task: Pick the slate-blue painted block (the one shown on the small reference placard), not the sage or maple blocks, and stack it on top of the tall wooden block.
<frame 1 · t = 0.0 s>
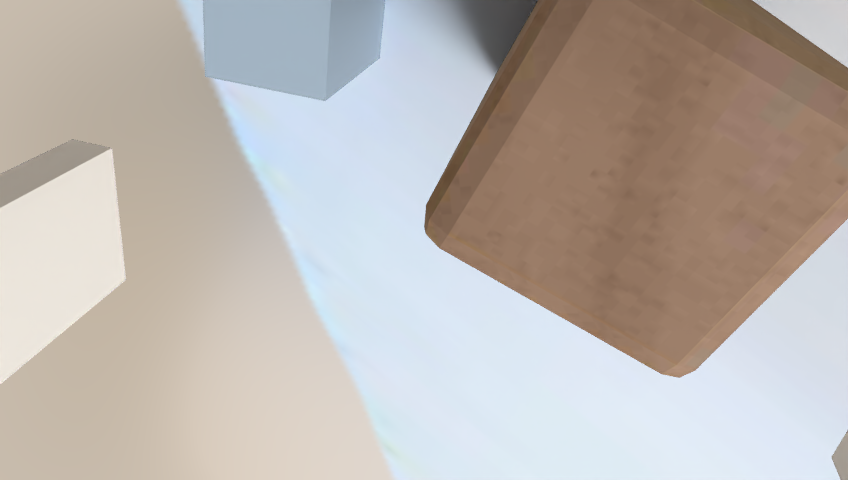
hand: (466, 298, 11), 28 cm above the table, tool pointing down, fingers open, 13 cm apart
wooden block: (619, 46, 36), on the table
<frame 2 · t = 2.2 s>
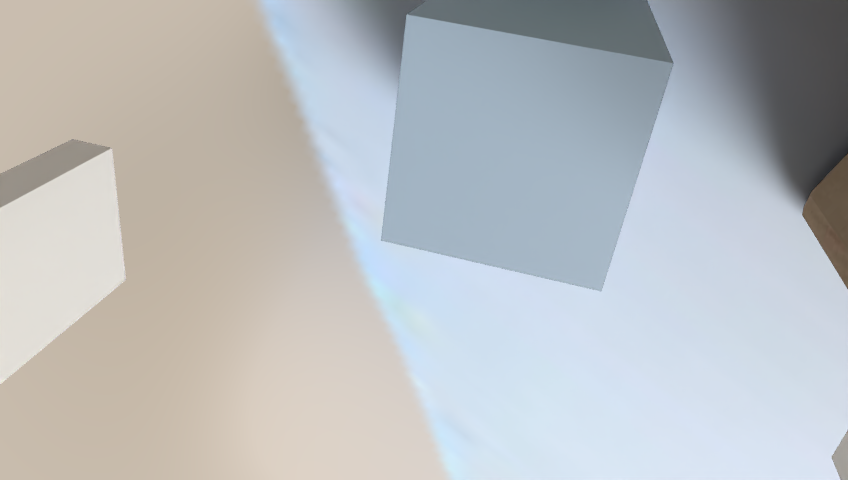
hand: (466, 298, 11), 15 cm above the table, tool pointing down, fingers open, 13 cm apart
slate blue block: (538, 72, 24), on the table
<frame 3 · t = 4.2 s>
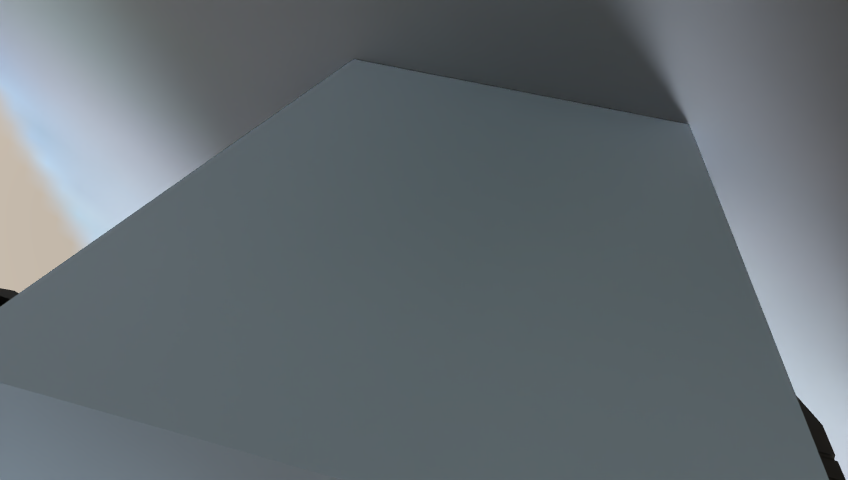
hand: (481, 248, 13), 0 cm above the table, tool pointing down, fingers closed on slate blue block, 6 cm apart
slate blue block: (485, 237, 13), on the table, touching gripper
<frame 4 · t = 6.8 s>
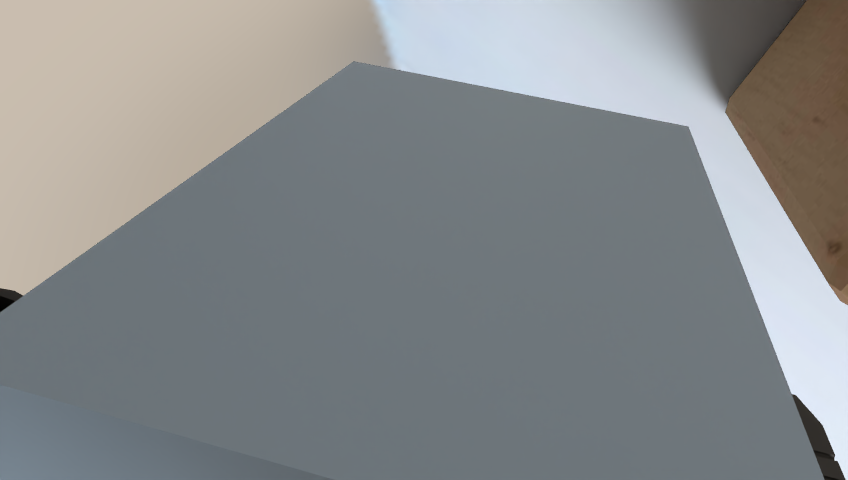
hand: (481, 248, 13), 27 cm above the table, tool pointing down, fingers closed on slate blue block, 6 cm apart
slate blue block: (485, 239, 13), point 27 cm above the table, touching gripper
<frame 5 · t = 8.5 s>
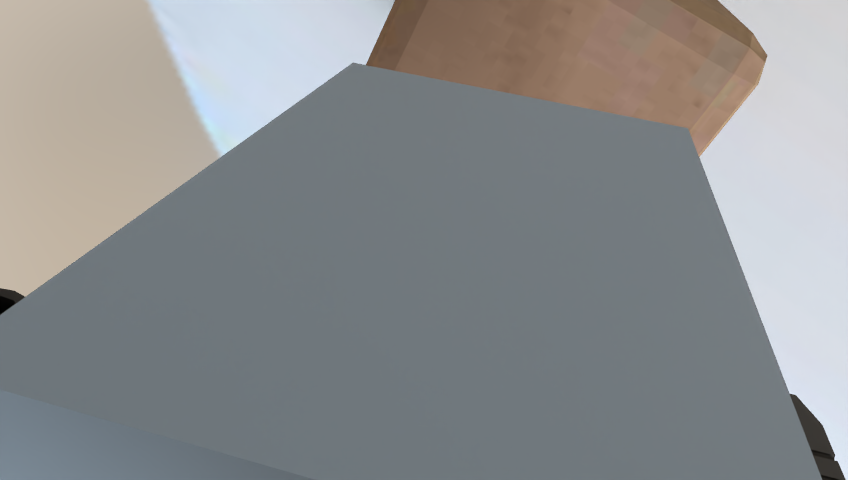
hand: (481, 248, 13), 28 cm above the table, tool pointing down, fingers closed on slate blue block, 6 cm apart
slate blue block: (485, 240, 13), point 27 cm above the table, touching gripper
wooden block: (557, 12, 37), on the table
when the fingers open (23 cm above the table, at t = 9.4 s): slate blue block drops 3 cm, resting on wooden block.
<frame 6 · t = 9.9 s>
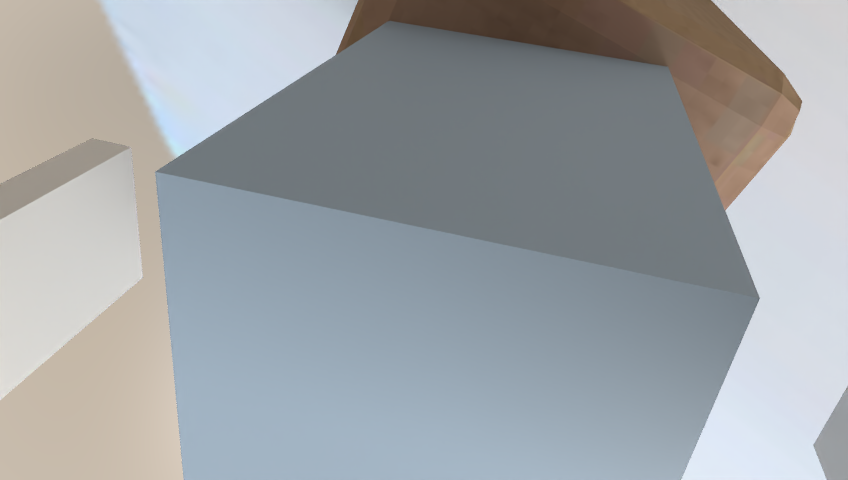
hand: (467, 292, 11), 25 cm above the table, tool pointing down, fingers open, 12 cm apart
slate blue block: (500, 171, 16), point 20 cm above the table, touching wooden block
wooden block: (551, 27, 33), on the table, touching slate blue block
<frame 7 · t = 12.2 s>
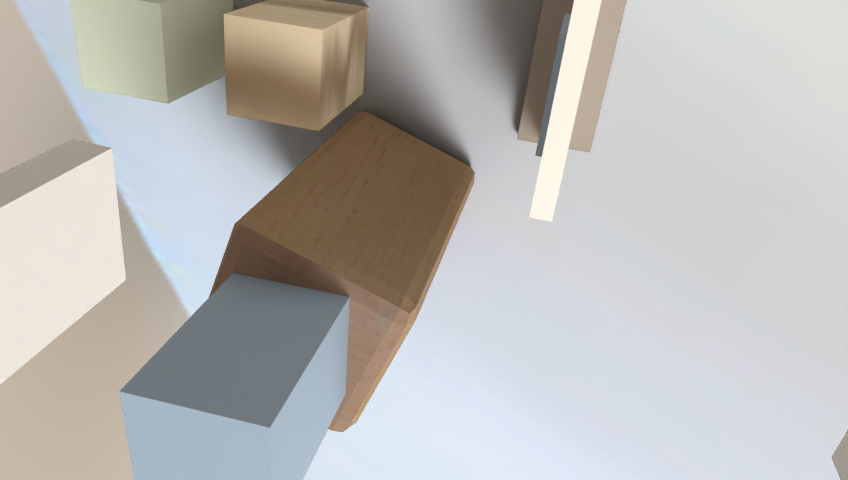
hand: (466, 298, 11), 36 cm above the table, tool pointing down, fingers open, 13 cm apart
slate blue block: (290, 334, 34), point 20 cm above the table, touching wooden block
wooden block: (395, 188, 51), on the table, touching slate blue block
sage block: (195, 23, 49), on the table
maple block: (325, 44, 47), on the table
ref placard: (572, 54, 44), on the table
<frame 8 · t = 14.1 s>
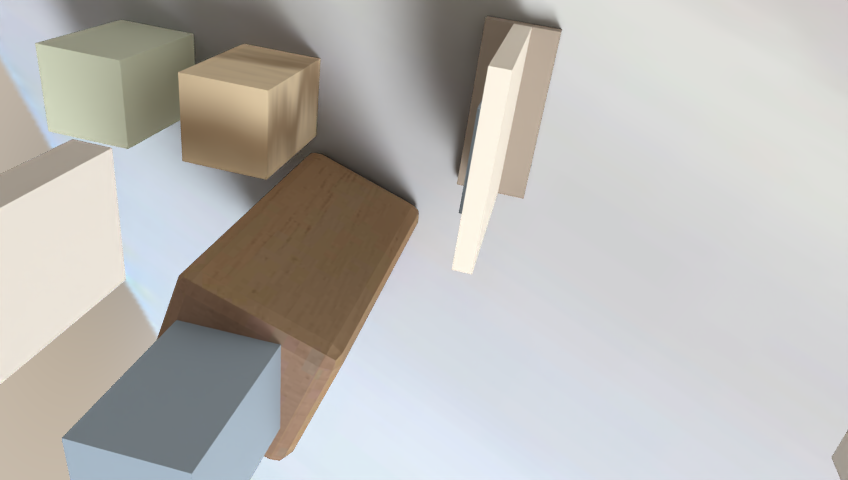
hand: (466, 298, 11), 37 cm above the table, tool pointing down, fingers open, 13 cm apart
slate blue block: (229, 375, 37), point 20 cm above the table, touching wooden block
wooden block: (347, 222, 55), on the table, touching slate blue block
sage block: (159, 66, 52), on the table
maple block: (280, 90, 50), on the table
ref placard: (506, 109, 47), on the table
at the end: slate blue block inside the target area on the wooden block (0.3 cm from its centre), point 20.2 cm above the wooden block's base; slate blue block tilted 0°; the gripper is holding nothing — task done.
